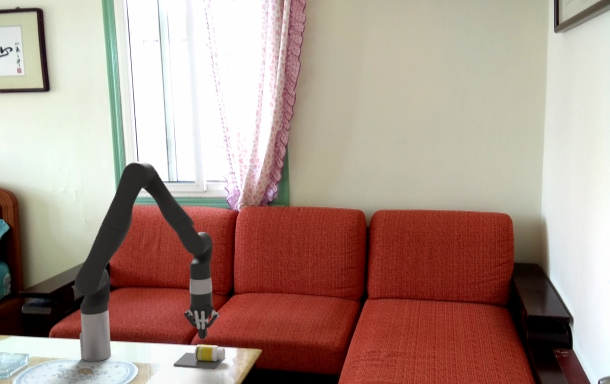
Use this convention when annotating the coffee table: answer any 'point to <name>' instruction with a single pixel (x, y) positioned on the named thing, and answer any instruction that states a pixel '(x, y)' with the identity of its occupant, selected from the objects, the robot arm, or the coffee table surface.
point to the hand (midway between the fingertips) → (202, 338)
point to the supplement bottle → (209, 353)
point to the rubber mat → (195, 362)
